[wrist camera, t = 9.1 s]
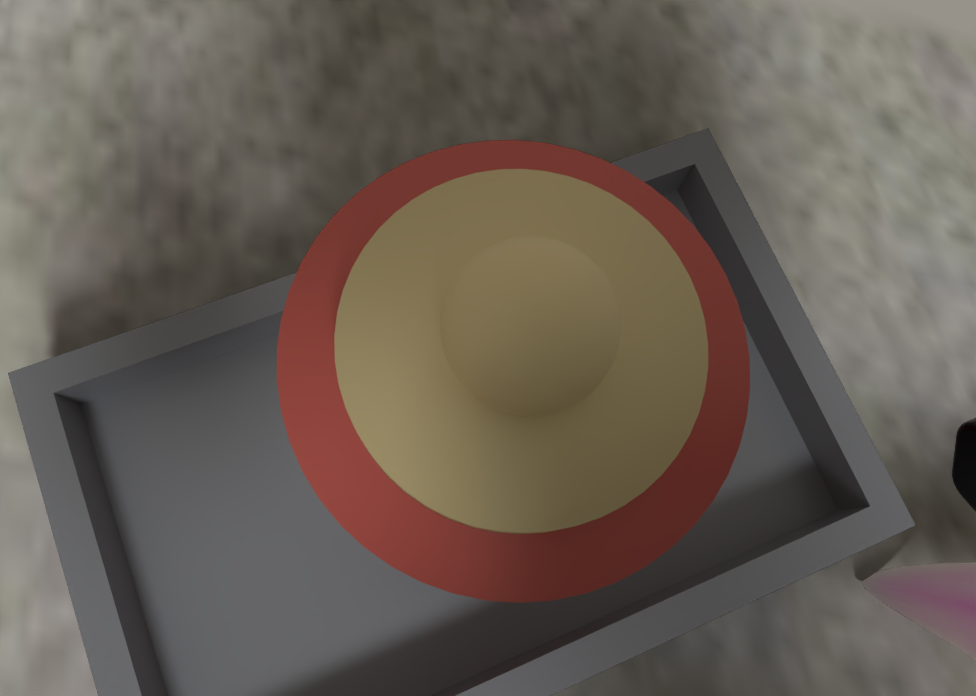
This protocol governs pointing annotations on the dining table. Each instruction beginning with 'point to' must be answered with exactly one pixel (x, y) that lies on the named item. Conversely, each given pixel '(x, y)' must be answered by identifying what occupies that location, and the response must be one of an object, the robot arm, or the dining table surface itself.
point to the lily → (933, 599)
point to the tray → (358, 572)
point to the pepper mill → (513, 371)
